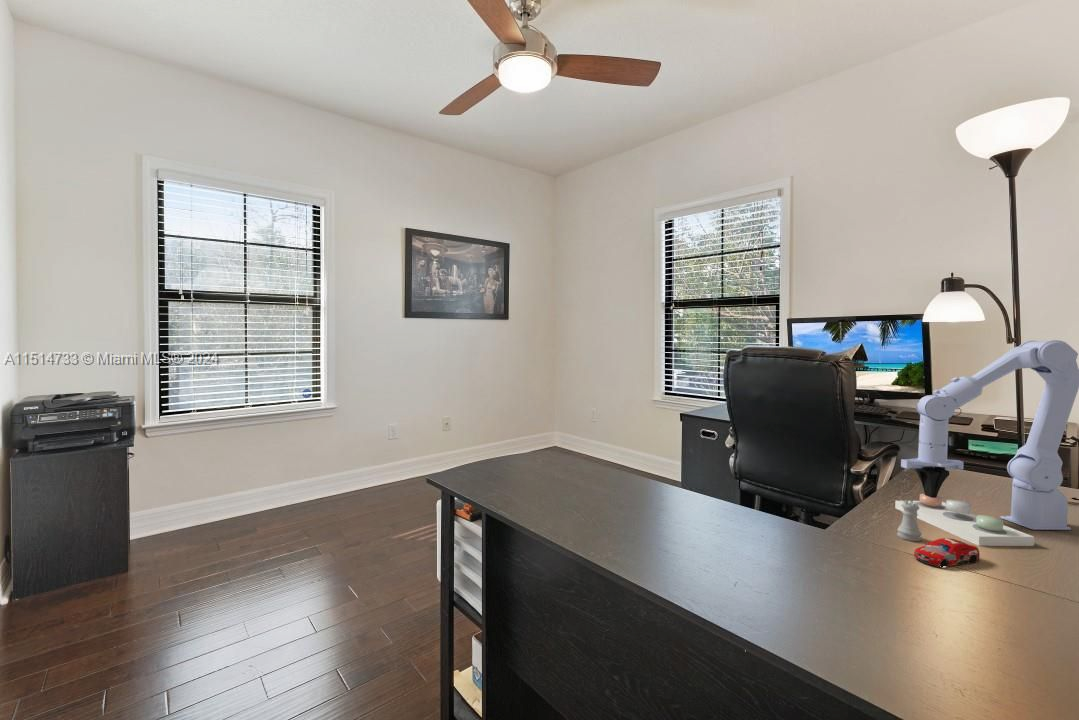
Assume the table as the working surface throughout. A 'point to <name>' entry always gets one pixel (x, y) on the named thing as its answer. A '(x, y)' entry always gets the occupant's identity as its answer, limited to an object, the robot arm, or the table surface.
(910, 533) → the rook chess piece
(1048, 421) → the robot arm
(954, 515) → the button panel
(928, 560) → the race car
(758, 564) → the table surface
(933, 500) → the terracotta button
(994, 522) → the sage button
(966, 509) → the grey button
